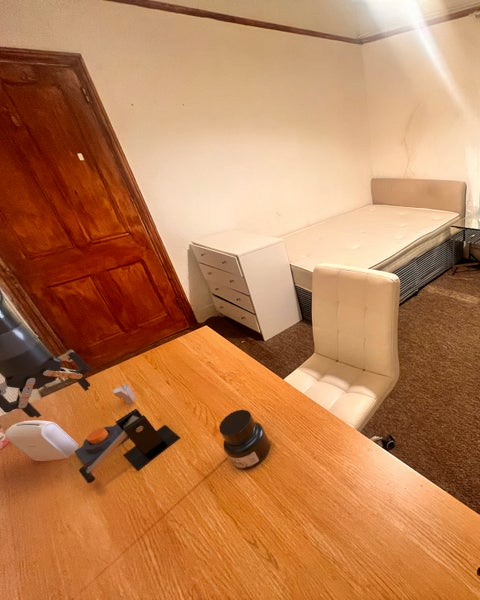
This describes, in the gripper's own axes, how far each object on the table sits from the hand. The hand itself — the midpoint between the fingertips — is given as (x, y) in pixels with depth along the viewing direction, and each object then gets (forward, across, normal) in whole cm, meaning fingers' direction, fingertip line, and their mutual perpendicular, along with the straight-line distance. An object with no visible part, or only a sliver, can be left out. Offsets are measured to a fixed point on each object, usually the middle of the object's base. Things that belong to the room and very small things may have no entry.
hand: (63, 401), depth 71 cm
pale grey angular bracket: (+18, -10, -12) cm, 24 cm away
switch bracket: (+18, -6, +12) cm, 22 cm away
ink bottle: (+18, -19, +36) cm, 44 cm away
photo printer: (+18, +7, -10) cm, 22 cm away
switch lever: (+11, -2, +12) cm, 16 cm away
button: (+14, 0, 0) cm, 14 cm away
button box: (+18, 0, 0) cm, 18 cm away
